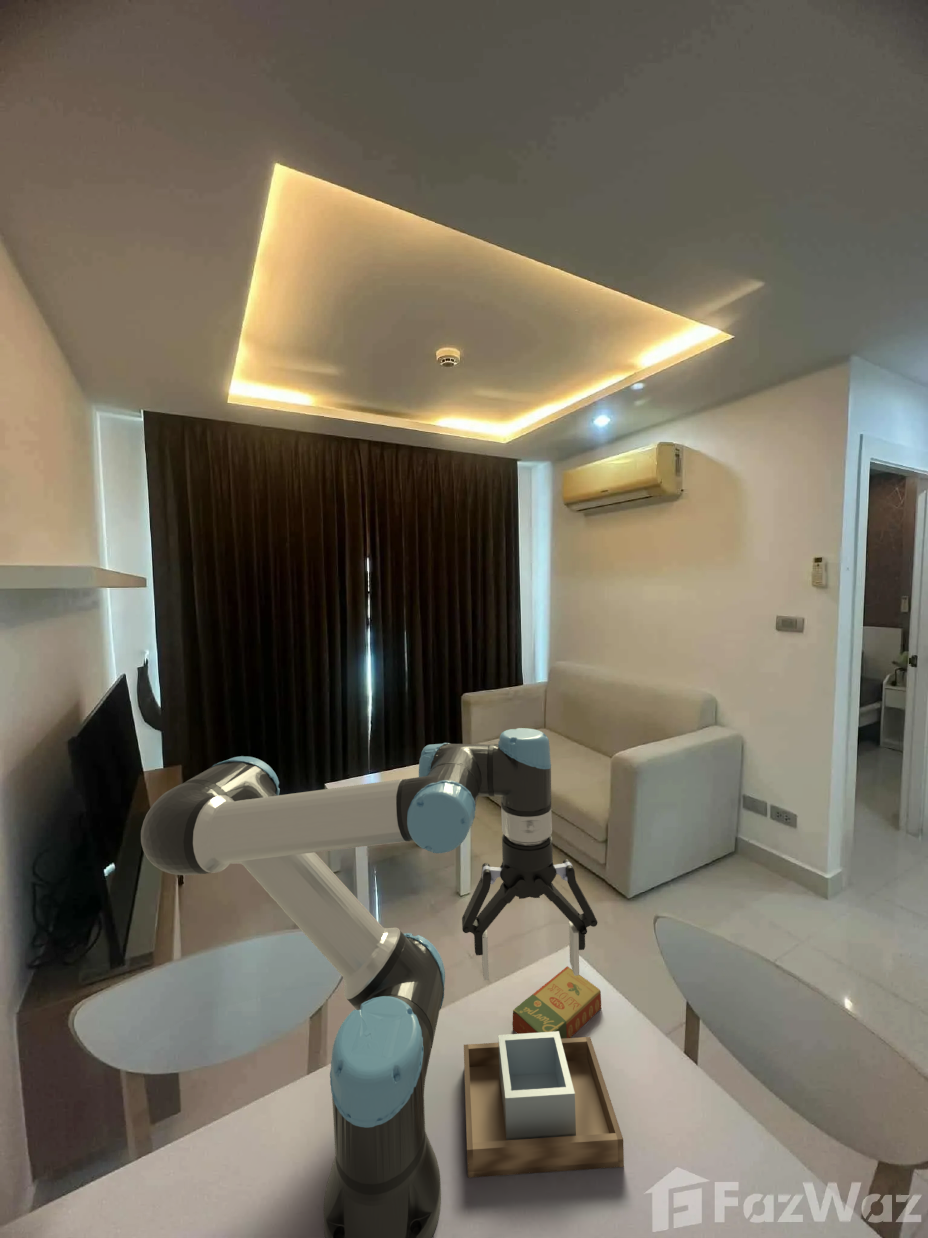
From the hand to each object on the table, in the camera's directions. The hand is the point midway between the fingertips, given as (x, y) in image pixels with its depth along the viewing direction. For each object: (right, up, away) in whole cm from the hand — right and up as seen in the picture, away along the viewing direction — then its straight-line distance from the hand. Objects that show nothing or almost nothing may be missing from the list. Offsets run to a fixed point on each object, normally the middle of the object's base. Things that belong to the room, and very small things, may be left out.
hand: (530, 971), depth 73 cm
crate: (+1, -22, +1) cm, 22 cm away
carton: (+8, -22, +17) cm, 29 cm away
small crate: (+1, -22, +1) cm, 22 cm away
